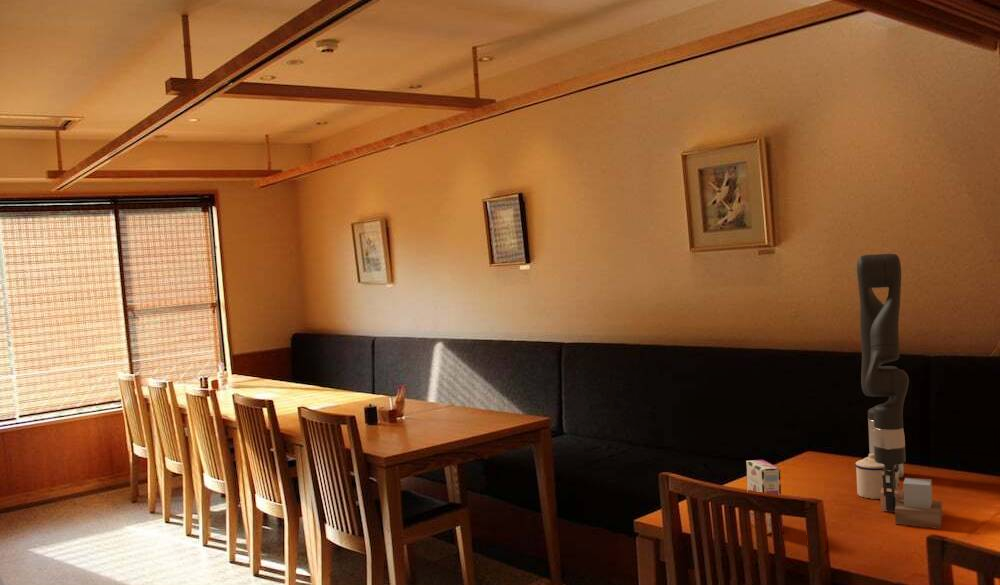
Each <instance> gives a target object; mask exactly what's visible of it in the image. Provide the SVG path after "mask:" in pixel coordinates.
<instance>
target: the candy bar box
mask: <svg viewBox="0 0 1000 585" xmlns="http://www.w3.org/2000/svg"><path fill="white" fill-rule="evenodd" d="M745 462H746V464H745V465H746V486H747V487H746V488H747V491H748V490H752V491H757V492H762V493H768V494H774V495H781V496H782V489H781V488H782V486H781V484H782V483H781V468H779V467H777V466H776V465H774V464H773V463H770V462H768V461H766V460H764V459H752V460H745ZM751 519H752V521H753V513H752V512H751ZM766 522H767V529H768V534H767V535H772V534H771V516H770V514H766ZM769 531H770V534H769Z"/></svg>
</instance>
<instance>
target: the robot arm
mask: <svg viewBox="0 0 1000 585" xmlns="http://www.w3.org/2000/svg"><path fill="white" fill-rule="evenodd" d="M856 276H857V286H858V294H859V306H860V308H859V309H860V310H859V312H860V313H859V314H860V315H859V316H860V317H859V326H860V327H859V328H860V329H859V330H860V332H859V333H860V342H861V372H860V384H861V389H862V393H863V394H864V396H866V397H872V398H873V397H874V398H876V397H879V398H883V397H884V398H887V397H888V399H887V400H886V401H885V402H884V403H880V404H877V405H875V406H873V407H871V408H869V409H868V410H867V422H868V423H867V426H868V446H869V447H868V448H869V449H868V450H869V454H874V458H875V461H876V462H877V463H880V464H881V463H882V464H884V467H883V470H882V478H883V489H884V493H883V495H884V496H885V497H886V510H887V511H895V496H896V494H895V489H899V485H900V479H901V478H902V477H904V475H905V474H904V473H905V472H904V463H905V462H906V440H905V439H906V438H905V431H904V414H903V413H904V403H905V401H906V400H905V398H906V396H907V392H908V390H909V384H910V379H909V375H908V373H907V372H906V371H905V370H904V369H900V368H898V367H897V366H893V365H883V364H888V363H891V362H895V361H897V360H899V359H900V351H901V350H900V334H899V324H900V323H899V321H900V309H901V308H900V307H901V294H902V265H901V260H900V257H899V255H898V254H896V253H879V254H878V253H876V254H865V255H864V254H863V255H861V256H859V258H858V259H857V263H856ZM876 288H877V289H880V288H888V292H887V293H888V294H887V296H886V300H885V302H884V304H883V303H882V302H881V300H880V299H879V298H878V297H877V295H876V294H875V293H874V290H873V289H876ZM882 365H883V366H882ZM887 488H888V489H892V492H888V491H887Z"/></svg>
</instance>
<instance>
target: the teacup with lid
mask: <svg viewBox="0 0 1000 585" xmlns="http://www.w3.org/2000/svg"><path fill="white" fill-rule="evenodd" d="M867 455H868V456H866V457H864V458H863V459H859V460H857V461H856V462H855V463H854V464H855V468H856V471H855V472H856V490H857V491H856V492H857V495H858V496H859V497H861V498H863V497H864V499H868V498H870V500H871V499H872V500H880V492H881V489H882V488H883V478H882V470H883V467H884V464H882V463H881V464H880V463H877V462H876V461H875V458H874V454H870V453H868V454H867Z"/></svg>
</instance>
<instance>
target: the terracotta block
mask: <svg viewBox="0 0 1000 585" xmlns="http://www.w3.org/2000/svg"><path fill="white" fill-rule="evenodd" d="M887 491H888V492H892V489H888V488H887ZM883 493H884V489H883V488H882V489H881V492H880V499H879V500H880V512H884V511H887V510H886V497H885V496H884V495H883ZM895 494H896V496H895V507H896V504H897V502H898V499H899V498H903V499H904V493H903V488H898V489H895ZM889 513H895V511H890V512H889Z"/></svg>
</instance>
